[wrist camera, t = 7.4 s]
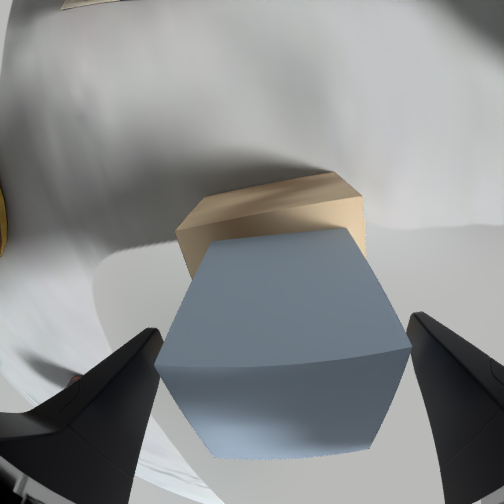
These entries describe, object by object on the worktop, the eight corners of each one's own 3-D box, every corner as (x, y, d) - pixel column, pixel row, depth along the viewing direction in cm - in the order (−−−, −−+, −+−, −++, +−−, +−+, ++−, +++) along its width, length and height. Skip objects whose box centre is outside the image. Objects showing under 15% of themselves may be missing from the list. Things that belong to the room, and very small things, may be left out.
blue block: (346, 227, 10) (412, 346, 4) (342, 330, 12) (368, 448, 6) (211, 241, 10) (153, 364, 5) (234, 339, 12) (213, 457, 7)
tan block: (333, 171, 14) (362, 195, 9) (345, 283, 16) (365, 339, 12) (204, 196, 15) (174, 231, 10) (236, 301, 18) (224, 359, 13)
